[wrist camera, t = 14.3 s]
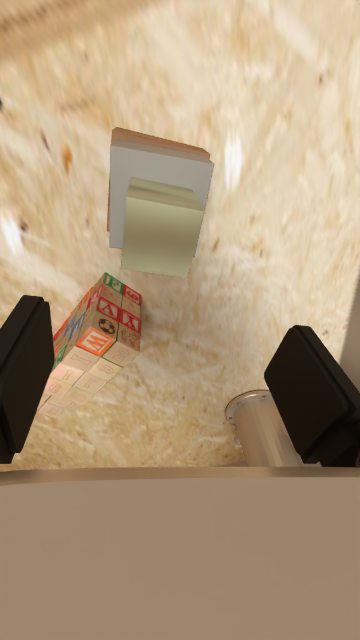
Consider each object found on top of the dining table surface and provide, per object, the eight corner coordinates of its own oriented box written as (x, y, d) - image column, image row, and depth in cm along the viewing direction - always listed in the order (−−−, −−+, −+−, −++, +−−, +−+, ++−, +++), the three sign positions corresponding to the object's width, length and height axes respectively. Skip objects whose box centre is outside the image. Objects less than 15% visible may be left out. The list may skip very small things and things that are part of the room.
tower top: (188, 237, 30) (194, 257, 26) (114, 228, 29) (109, 247, 25) (203, 155, 25) (214, 163, 21) (116, 139, 24) (110, 145, 20)
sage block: (179, 245, 25) (187, 277, 21) (125, 237, 24) (120, 269, 20) (191, 189, 22) (204, 211, 18) (131, 176, 21) (126, 196, 17)
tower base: (183, 229, 35) (188, 245, 31) (111, 216, 33) (106, 231, 29) (202, 148, 29) (210, 154, 25) (117, 126, 27) (111, 130, 24)
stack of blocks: (69, 372, 49) (49, 438, 39) (34, 358, 46) (4, 425, 36) (142, 294, 40) (140, 354, 30) (105, 270, 37) (90, 327, 27)
